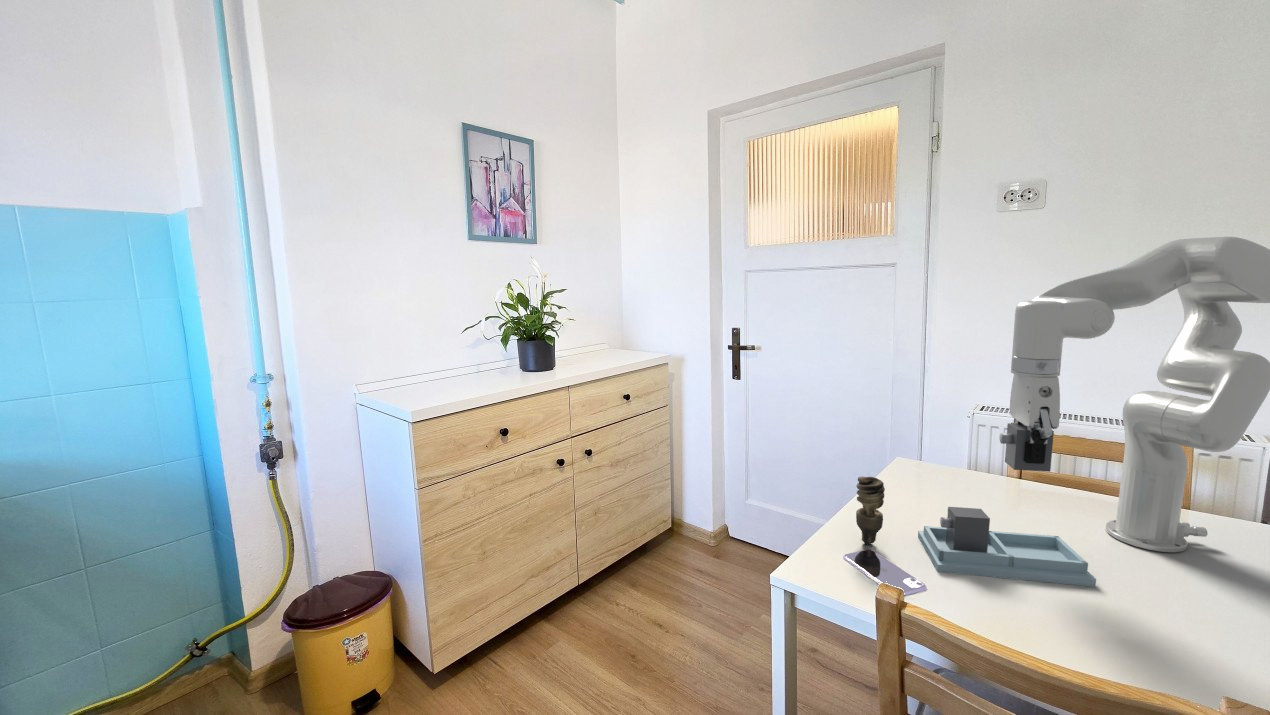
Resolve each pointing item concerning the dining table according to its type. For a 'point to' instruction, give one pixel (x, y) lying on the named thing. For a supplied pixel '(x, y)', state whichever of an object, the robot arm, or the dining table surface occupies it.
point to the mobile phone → (884, 571)
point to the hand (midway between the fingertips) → (1028, 457)
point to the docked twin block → (966, 529)
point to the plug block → (1023, 448)
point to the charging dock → (1010, 557)
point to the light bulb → (870, 507)
